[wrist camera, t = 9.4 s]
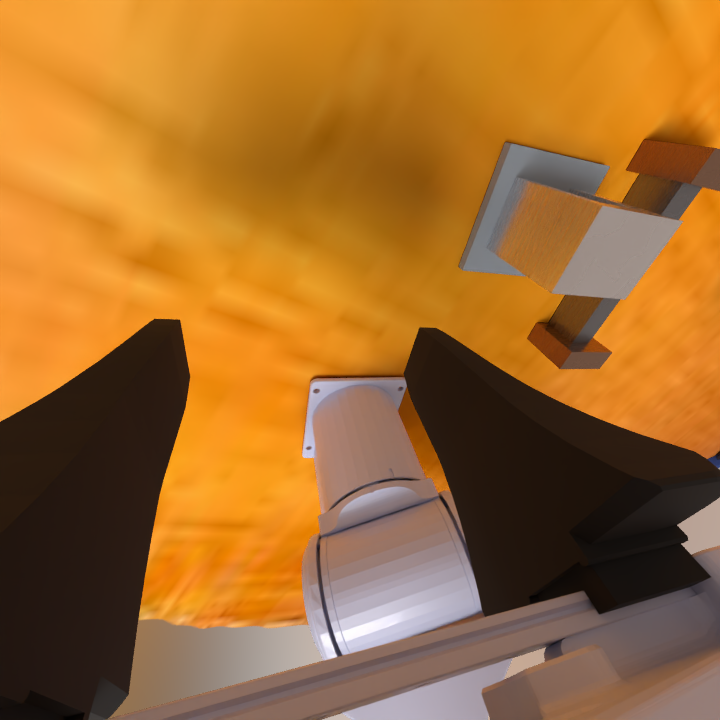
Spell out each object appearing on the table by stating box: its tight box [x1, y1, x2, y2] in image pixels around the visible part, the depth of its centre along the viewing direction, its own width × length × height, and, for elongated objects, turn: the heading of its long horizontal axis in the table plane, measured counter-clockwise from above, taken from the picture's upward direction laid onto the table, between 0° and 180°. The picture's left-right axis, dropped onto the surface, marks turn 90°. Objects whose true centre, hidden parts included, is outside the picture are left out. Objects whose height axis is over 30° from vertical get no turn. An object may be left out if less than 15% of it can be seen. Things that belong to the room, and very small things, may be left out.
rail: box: [527, 140, 720, 369], centre depth 22 cm, size 14×4×4 cm, turn 169°
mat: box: [459, 142, 610, 276], centre depth 20 cm, size 7×7×1 cm
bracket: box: [486, 177, 683, 299], centre depth 18 cm, size 4×5×6 cm
